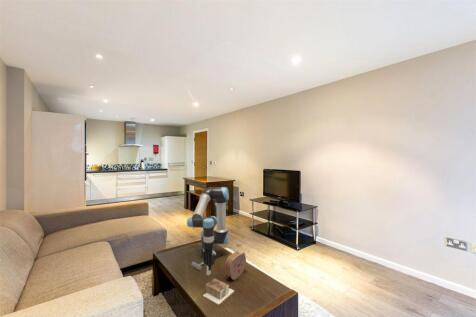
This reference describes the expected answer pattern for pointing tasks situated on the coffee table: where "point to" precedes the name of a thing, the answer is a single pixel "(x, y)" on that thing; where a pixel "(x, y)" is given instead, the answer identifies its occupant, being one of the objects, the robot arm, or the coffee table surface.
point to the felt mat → (216, 300)
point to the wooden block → (217, 288)
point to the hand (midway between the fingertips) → (208, 274)
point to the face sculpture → (235, 265)
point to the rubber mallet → (198, 266)
